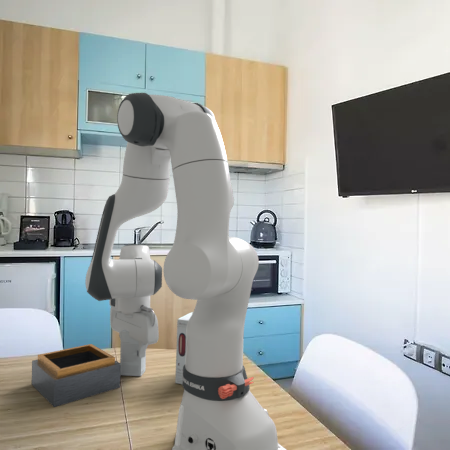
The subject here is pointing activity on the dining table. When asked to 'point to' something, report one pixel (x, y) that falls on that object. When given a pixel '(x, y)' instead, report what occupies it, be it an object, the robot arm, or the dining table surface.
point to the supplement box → (181, 346)
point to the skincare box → (130, 356)
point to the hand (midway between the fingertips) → (133, 352)
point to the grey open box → (74, 374)
